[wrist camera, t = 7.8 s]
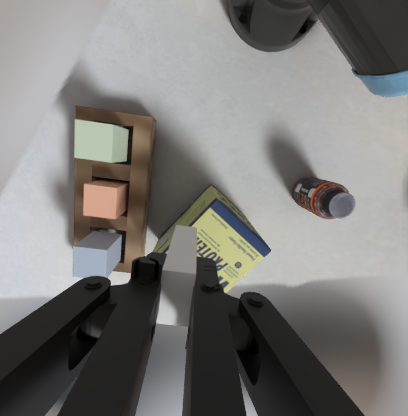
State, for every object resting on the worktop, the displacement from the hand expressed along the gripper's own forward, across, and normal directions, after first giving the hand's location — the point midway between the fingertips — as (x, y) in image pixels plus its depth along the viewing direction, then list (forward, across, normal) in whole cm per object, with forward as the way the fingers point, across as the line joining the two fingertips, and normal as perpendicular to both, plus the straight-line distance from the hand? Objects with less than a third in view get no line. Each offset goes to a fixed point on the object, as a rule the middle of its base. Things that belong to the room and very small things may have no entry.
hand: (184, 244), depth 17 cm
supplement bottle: (+29, +22, +2) cm, 36 cm away
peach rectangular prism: (+27, -14, -3) cm, 31 cm away
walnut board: (+28, -14, -3) cm, 32 cm away
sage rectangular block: (+24, -14, +6) cm, 29 cm away
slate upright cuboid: (+24, -14, -12) cm, 30 cm away
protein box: (+29, +3, -8) cm, 30 cm away
